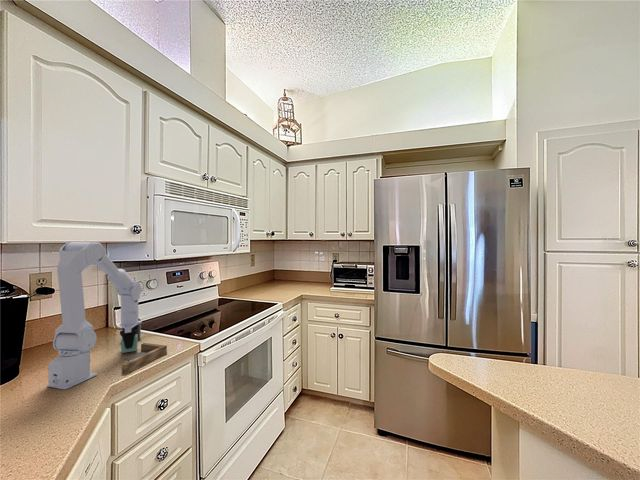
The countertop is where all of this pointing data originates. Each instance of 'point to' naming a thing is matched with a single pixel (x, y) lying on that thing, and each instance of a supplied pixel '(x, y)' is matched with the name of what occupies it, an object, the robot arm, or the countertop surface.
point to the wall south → (142, 360)
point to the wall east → (152, 347)
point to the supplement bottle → (138, 330)
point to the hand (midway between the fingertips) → (129, 345)
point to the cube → (129, 348)
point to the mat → (135, 356)
